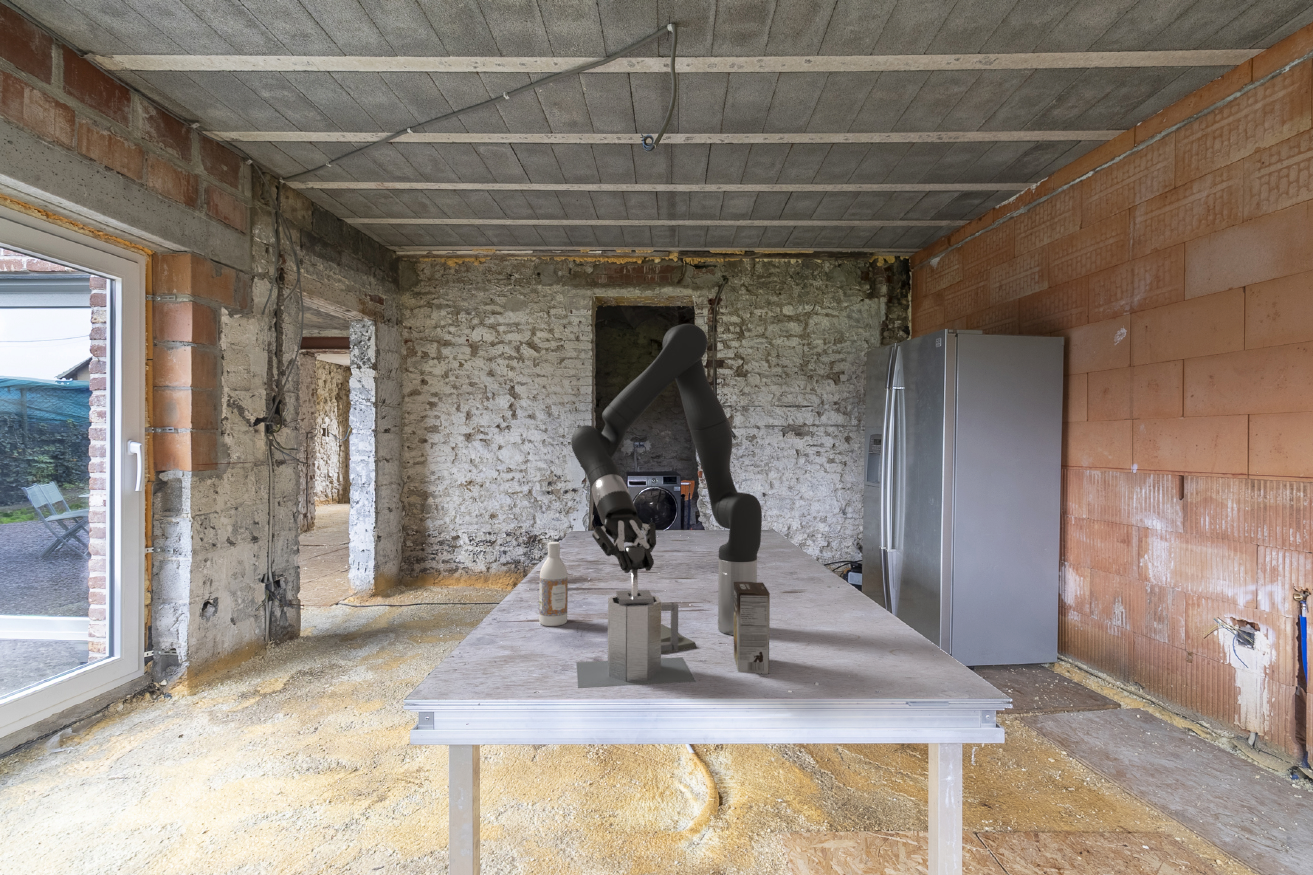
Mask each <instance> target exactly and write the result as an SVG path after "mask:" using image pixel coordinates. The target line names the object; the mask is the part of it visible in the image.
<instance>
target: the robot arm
mask: <svg viewBox="0 0 1313 875" xmlns="http://www.w3.org/2000/svg"><path fill="white" fill-rule="evenodd" d="M707 348H708V337H707V335H706V332H705V331H704V329H703V328H701V327H700V326H698V325H696V324H692V323H682V324H679V325H678V324H677V325H676V326H672V327H671V328H669V329H668V330H667V331H666V333H665V334H664V336H663V340H662V350H661V351H660V353H659V354H658V355H657V356H656V358H655V359H654V360H653V362H651V363H650V364H649V366H648V367H646V369H645V370H644V371H642V373H640V374H639V375H638V376H637V377H635V379H633V380H632V381H631V382H630V383H629V384H627V386H625V388H623V390H621V391H620V393H619V394H617V396H615V398H614V399H613V400H611V402H610V403H609V404H608V405H607V406H606V408H605V409H604V410H603V412H602V413H601V414H602V415H601V417H602V418H601V419H602V420H603V422H604V424H605V425H604V427H603V429H602V431H600V430H598V428H596V427H594V425H593V426H592V425H589V424H587V425H586V424H585V425H581V426H579V427H578V428H576V429H575V431H574V432H573V434H572V437H571V442H570V443H571V444H570V445H571V448H572V451H573V454H574V456H575V458H576V460H577V462H578V463H579V464H580V466H581V468H582V469H583V471H584V473H585V474H586V477H587V478H586V479H587V480H588V484H589V485H590V486H589V487H590V489H591V492H592V498H593V502H594V504H595V507H596V509H597V512H598V513H597V514H598V516H599V519H600V522H601V523H602V524H601V525H602V526H600V525H597V526H595V528H594V530H593V531H592V536H591V537H592V538H593V539H594V541H595V542H596V543H597V545H598V546H599V547H600V549H601V550H602V551H603V553H604V554H605V555H606V556H607V557H611V556H614V557H615V558H616V559H617V561H618V564H619V568H620V569H621V571H623V572H624V573H625V574H630V572H631V571H632V570H631V568H632V566H631V563H630V560H629V557H628V555H627V552H626V551H625V543H629V544H631V545H638V546H644V547H645V568H644V569H645V571H647V572H648V571H651V570H652V568H653V566H654V564H655V560H654V558H653V556H652V552H653V551H654V549H655V547H656V545H657V531H656V529H657V528H656V523H654V522H653V521H652V522H649V523H648V524H647V523H643V521H642V520H641V519H640V518H639V517H638V511H637V508H636V506H635V504H634V501H633V499H632V496H631V494H630V491H629V489H628V487H627V485H626V483H625V481H624V480H623V477H622V475H621V472H620V469H619V467H618V465H617V463H616V461H614V459H612V458H613V457H614V455H615V454H616V452H617V450H618V449H619V446H620V445H621V443H622V442H623V440H624V438H625V435H626V434H627V431H628V430H629V429H630V428H631V427H632V426H633V425H634V424H635V423H636V422H637V420H638V419H640V418H641V416H642V415H643V414H644V413H645V412H646V410H647V409H648V408H649V407H650V406H651V404H653V402H654V401H655V400H656V399H657V398H658V397H659V396H660V394H662V393H663V391H664V390H665V389H666V388H668V386H670V385H671V383H673V382H674V381H675V382H676V385H677V388H678V390H679V391H678V392H679V395H680V399H681V402H682V407H683V411H684V414H685V418H686V422H687V426H688V429H689V431H690V435H691V438H692V442H693V444H694V447H695V450H696V452H697V456H698V460H699V464H700V466H701V469H702V470H701V471H702V473H703V476H704V480H705V484H706V488H707V492H708V499H709V504H710V507H711V511H712V515H713V518H714V520H715V522H716V523H717V524H718V525H719V526H720V527H721V528H724V529H726V530H729V531H728V532H729V534H728V541H727V542H726V543H725V544H724V543H723V544H722V545H720V546H719V548H718V590H717V591H718V592H717V594H718V596H717V598H718V602H717V603H718V605H717V609H718V610H717V611H718V612H717V613H718V614H717V618H718V619H717V626H718V627H717V628H718V629H717V630H718V631H719V632H721V633H723V634H725V635H730V636H734V582H758V553H759V550H760V547H761V543H762V542H761V539H762V521H763V513H762V512H763V511H762V506H761V503H760V500H759V499H758V498H757V497H756V496H755V495H753V494H750V493H745V492H739V491H738V490H737V489H736V485H735V483H734V479H733V477H732V472H731V466H730V465H731V457H732V450H733V435H732V431H731V428H730V425H729V422H728V418H727V415H726V411H725V410H724V407H723V405H722V404H721V401H720V400H719V398H718V396H717V395H716V393H715V391H714V389H713V388H712V386H711V384H710V383H709V380H708V377H707V374H706V371H705V367H704V362H703V359H702V358H703V357H704V356H705V353H706V352H707ZM642 532H643V533H642ZM610 538H611V539H612V540H611V539H610Z"/></svg>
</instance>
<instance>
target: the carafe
mask: <svg viewBox="0 0 1313 875" xmlns="http://www.w3.org/2000/svg"><path fill="white" fill-rule="evenodd" d="M631 604H637V606H631ZM662 612H670V628H671V642H661V624H662ZM678 633H679V603H678V602H677V601H675V602H662V601H661V599H660V597H659V596H658V595H654V594H653V595H652V593H651V592H650V590H649V589H643V590H639V589H638V596H631V590H616V591H615V595H613V596H610V597H608V599H607V661H608V673H609V677H611V678H615V679H618V680H621V681H624V682H626V681H627V682H636V681H647V680H648V681H649V680H651V679H652V678H654V677H656V676H658V675H660V674H661V658H662V654H661V651H674V652H676V651H675V650H678Z"/></svg>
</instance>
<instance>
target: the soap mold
mask: <svg viewBox="0 0 1313 875" xmlns="http://www.w3.org/2000/svg"><path fill="white" fill-rule="evenodd" d="M661 642H671V627H668V626H667V625H665V624H663V623H661ZM693 648H697V645H696V642H695V641H693V640H691V639H690V638H687V637H685V636H684V635H682V634H680V632H678V650H675V651H661V655H662V654H668V653H673V652H679V651H684V650H688V649H689V650H690V649H693Z"/></svg>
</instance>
